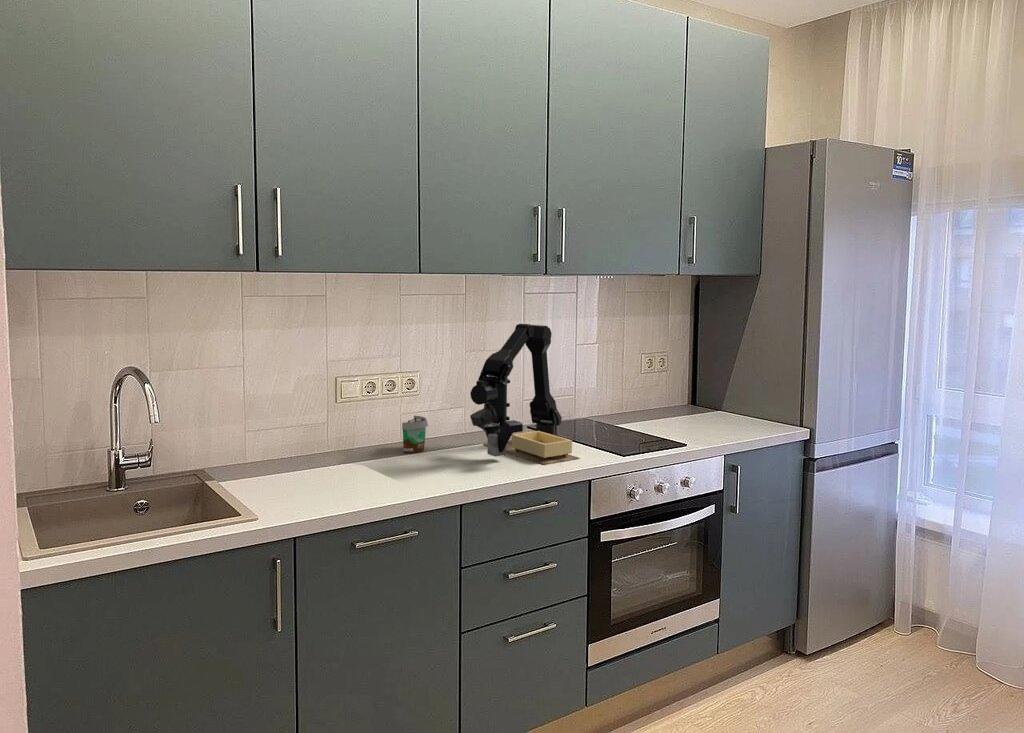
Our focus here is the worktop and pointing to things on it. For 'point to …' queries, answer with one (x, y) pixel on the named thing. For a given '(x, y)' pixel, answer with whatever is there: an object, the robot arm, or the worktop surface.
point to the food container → (414, 435)
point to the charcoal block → (494, 446)
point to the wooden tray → (541, 444)
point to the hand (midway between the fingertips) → (496, 450)
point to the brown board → (535, 457)
